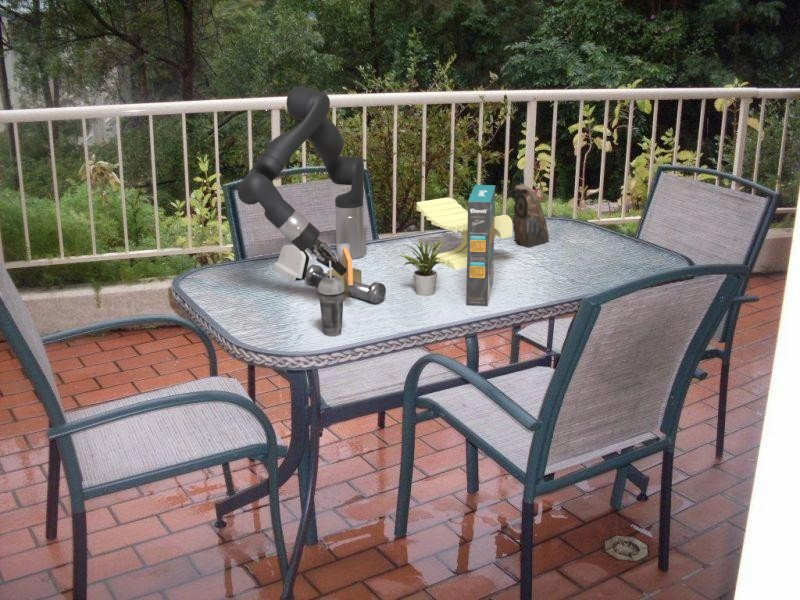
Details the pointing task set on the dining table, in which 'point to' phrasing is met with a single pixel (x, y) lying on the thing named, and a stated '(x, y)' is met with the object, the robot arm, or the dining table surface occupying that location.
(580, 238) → the dining table surface
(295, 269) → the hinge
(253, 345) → the dining table surface
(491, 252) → the cake mix box
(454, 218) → the slatted curved stool
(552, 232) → the dining table surface
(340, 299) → the beverage cup
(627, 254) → the dining table surface
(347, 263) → the lever
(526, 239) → the owl
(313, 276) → the valve
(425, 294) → the house plant
